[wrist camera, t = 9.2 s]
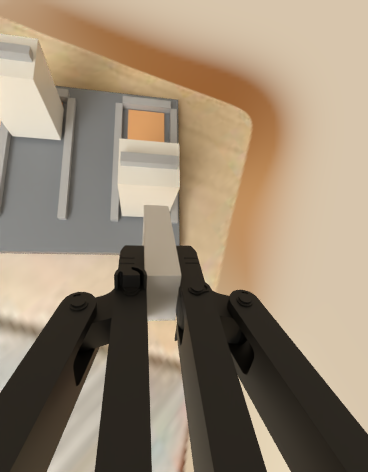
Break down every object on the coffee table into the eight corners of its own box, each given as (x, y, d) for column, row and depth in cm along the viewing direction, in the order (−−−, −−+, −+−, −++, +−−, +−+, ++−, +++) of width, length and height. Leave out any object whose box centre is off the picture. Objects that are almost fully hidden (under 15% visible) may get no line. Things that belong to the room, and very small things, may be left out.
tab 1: (60, 140, 31) (29, 71, 21) (12, 136, 30) (-43, 62, 21) (63, 109, 32) (34, 29, 22) (16, 104, 31) (-35, 19, 21)
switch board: (177, 255, 32) (180, 252, 30) (-10, 252, 29) (-23, 248, 27) (176, 107, 37) (179, 94, 34) (13, 89, 33) (4, 73, 31)
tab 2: (166, 217, 31) (181, 183, 22) (121, 216, 30) (116, 179, 21) (166, 184, 32) (181, 138, 23) (123, 182, 31) (118, 132, 22)
